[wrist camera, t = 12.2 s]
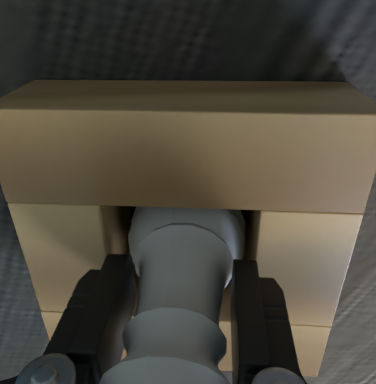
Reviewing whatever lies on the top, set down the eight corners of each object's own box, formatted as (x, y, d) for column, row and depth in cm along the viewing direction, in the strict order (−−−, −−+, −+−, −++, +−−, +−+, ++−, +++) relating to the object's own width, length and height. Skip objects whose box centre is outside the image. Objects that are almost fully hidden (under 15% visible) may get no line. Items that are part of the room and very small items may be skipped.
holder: (33, 79, 13) (-25, 108, 10) (349, 81, 12) (392, 114, 9) (82, 298, 18) (55, 360, 15) (300, 309, 17) (317, 377, 14)
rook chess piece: (118, 184, 14) (16, 392, 7) (235, 164, 13) (254, 376, 6) (151, 271, 16) (99, 496, 9) (252, 258, 15) (282, 494, 8)
